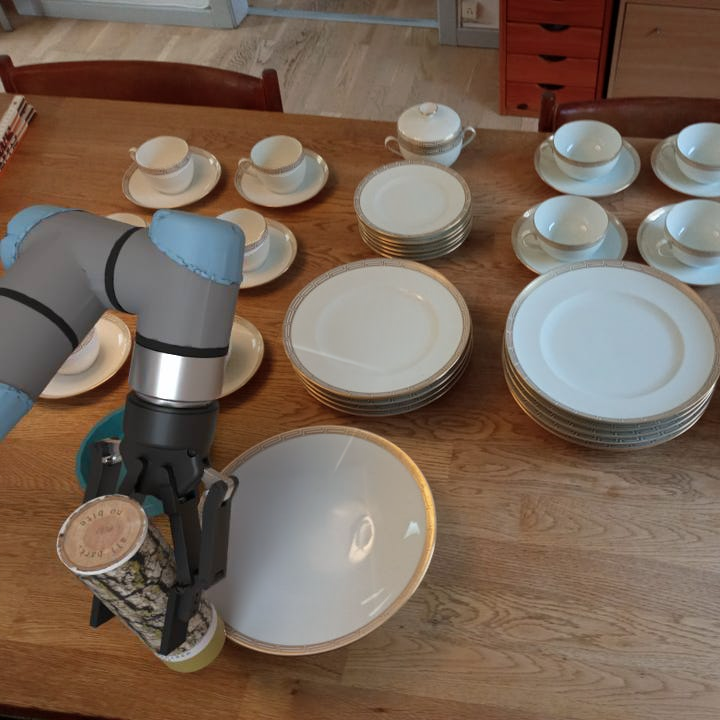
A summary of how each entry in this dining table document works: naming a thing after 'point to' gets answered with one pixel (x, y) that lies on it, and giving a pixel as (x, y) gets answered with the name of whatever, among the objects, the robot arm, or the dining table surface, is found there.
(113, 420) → the bowl
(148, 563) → the paper tube
